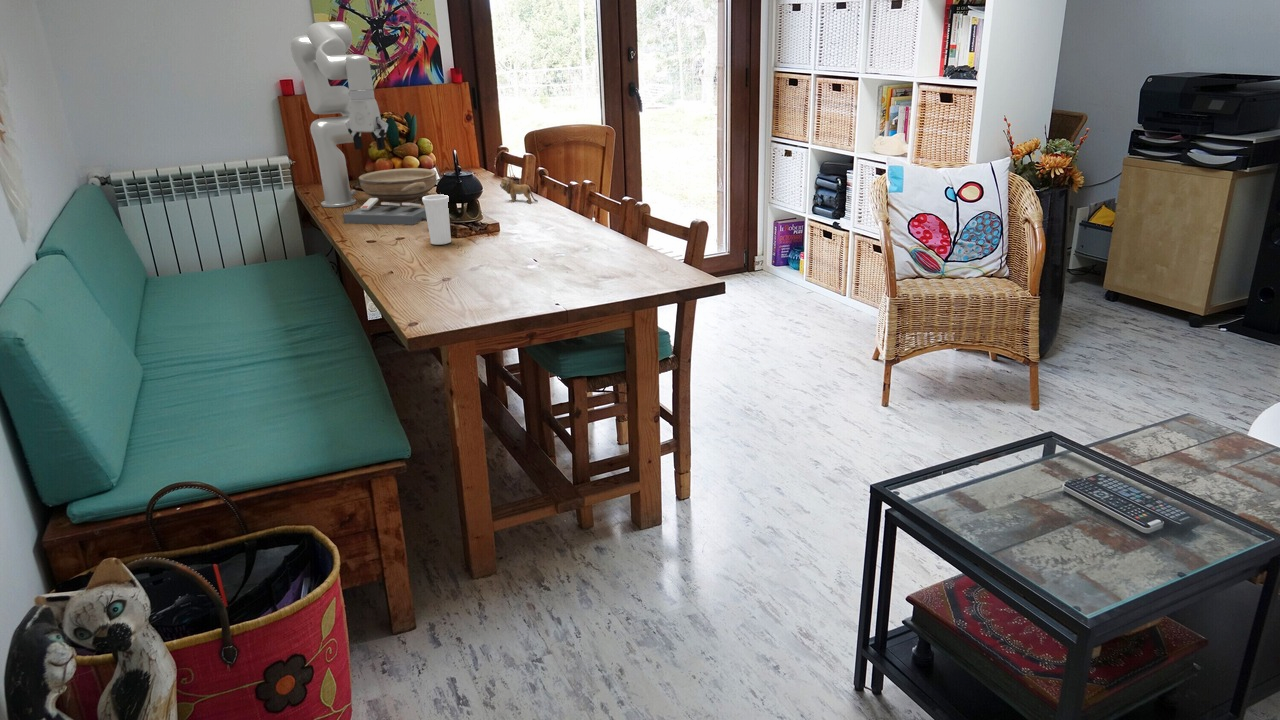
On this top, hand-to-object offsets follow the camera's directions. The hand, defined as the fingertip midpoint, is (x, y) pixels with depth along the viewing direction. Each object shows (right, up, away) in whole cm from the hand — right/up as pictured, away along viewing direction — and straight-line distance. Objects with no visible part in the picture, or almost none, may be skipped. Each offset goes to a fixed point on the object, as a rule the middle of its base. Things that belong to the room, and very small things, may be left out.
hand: (370, 149), depth 287 cm
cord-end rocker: (+11, -17, +11) cm, 23 cm away
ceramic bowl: (-2, -9, +43) cm, 44 cm away
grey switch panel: (+5, -21, +12) cm, 25 cm away
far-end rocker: (-5, -16, +15) cm, 23 cm away
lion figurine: (+45, -12, +34) cm, 57 cm away
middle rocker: (+3, -17, +13) cm, 21 cm away
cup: (+29, -34, -21) cm, 49 cm away
